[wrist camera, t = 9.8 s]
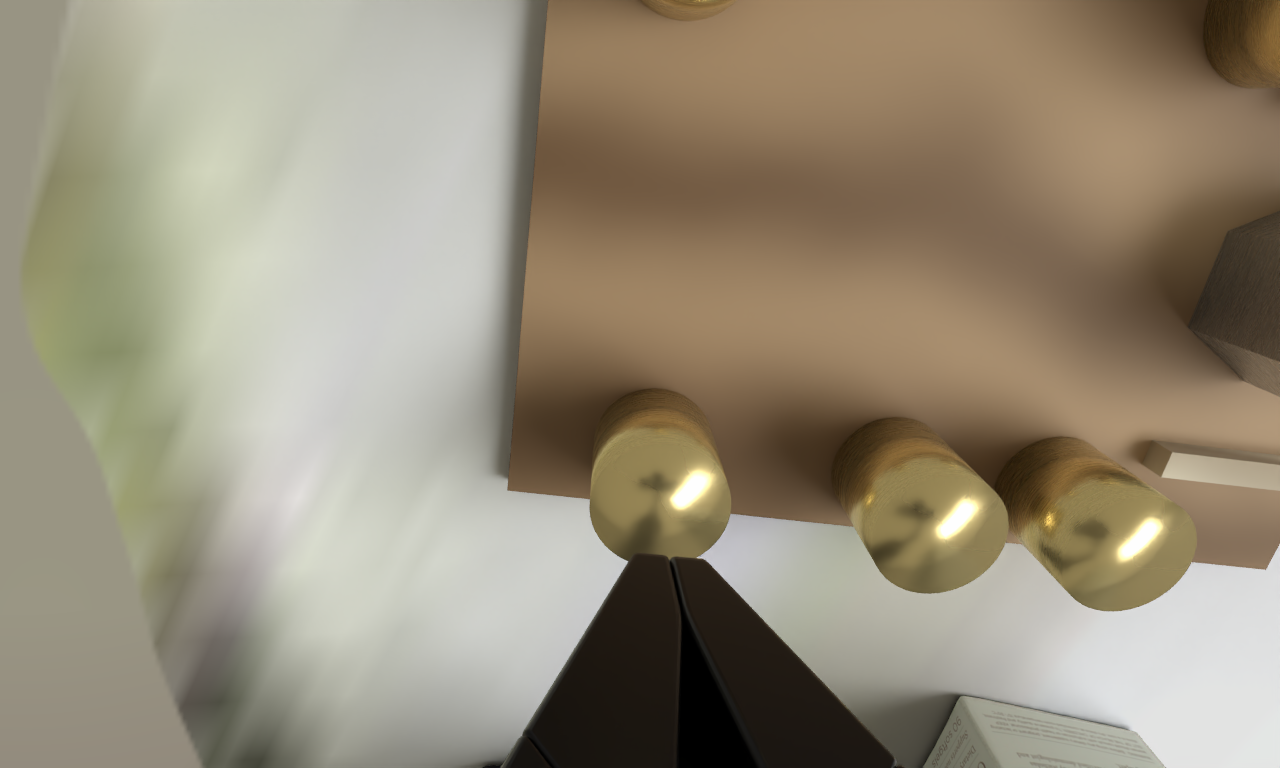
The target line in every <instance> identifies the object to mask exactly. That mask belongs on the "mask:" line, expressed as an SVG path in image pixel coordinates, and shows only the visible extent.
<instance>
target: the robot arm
mask: <svg viewBox="0 0 1280 768" xmlns="http://www.w3.org/2000/svg"><path fill="white" fill-rule="evenodd" d="M896 764H897V760H896V758H895V757H894V756H893V755H892V754H891V753H890V752H889V751H888V750H887V749H886V748H885V747H884V746H883V745H882V744H881V742H880V741H879V740H878V739H877V738H876V737H875V736H874V735H873V734H872V733H871V732H870V731H869V730H868V729H867V728H866V727H865V726H864V725H863V724H862V723H861V722H860V721H859V720H858V718H857V717H856V716H855V715H854V714H853V713H852V712H851V711H850V710H849V709H848V708H847V707H846V706H845V705H844V704H843V703H842V702H841V701H840V700H839V699H838V698H837V697H836V696H835V695H834V693H833V692H832V691H831V690H830V689H829V688H828V687H827V686H826V685H825V684H824V683H823V682H822V681H821V680H820V679H819V678H818V677H817V676H816V675H815V674H814V673H813V672H812V671H811V669H810V668H809V667H808V666H807V665H806V664H805V663H804V662H803V661H802V660H801V659H800V658H799V657H798V656H797V655H796V654H795V653H794V652H793V651H792V650H791V649H790V648H789V647H788V645H787V644H786V643H785V642H784V641H783V640H782V639H781V638H780V637H779V636H778V635H777V634H776V633H775V632H774V631H773V630H772V629H771V628H770V627H769V626H768V625H767V624H766V623H765V621H764V620H763V619H762V618H761V617H760V616H759V615H758V614H757V613H756V612H755V611H754V610H753V609H752V608H751V607H750V606H749V605H748V604H747V603H746V602H745V601H744V600H743V599H742V597H741V596H740V595H739V594H738V593H737V592H736V591H735V590H734V589H733V588H732V587H731V586H730V585H729V584H728V583H727V582H726V581H725V580H724V579H723V578H722V577H721V576H720V575H719V574H718V572H717V571H716V570H715V569H714V568H713V567H712V566H711V565H710V564H709V563H708V562H707V561H705V560H704V559H700V558H689V557H679V556H675V557H672V558H671V559H670V560H669V559H668V557H667V556H665V555H658V554H648V553H635V554H634V555H633V556H632V557H631V558H630V560H629V562H628V563H627V565H626V567H625V568H624V570H623V571H622V573H621V575H620V576H619V578H618V579H617V581H616V583H615V584H614V586H613V588H612V589H611V591H610V592H609V594H608V596H607V597H606V599H605V600H604V602H603V604H602V605H601V607H600V609H599V610H598V612H597V613H596V615H595V617H594V618H593V620H592V622H591V623H590V625H589V626H588V628H587V630H586V631H585V633H584V634H583V636H582V638H581V639H580V641H579V643H578V644H577V646H576V647H575V649H574V651H573V652H572V654H571V655H570V657H569V659H568V660H567V662H566V664H565V665H564V667H563V668H562V670H561V672H560V673H559V675H558V676H557V678H556V680H555V681H554V683H553V685H552V686H551V688H550V689H549V691H548V693H547V694H546V696H545V697H544V699H543V701H542V702H541V704H540V706H539V707H538V709H537V710H536V712H535V714H534V715H533V717H532V719H531V720H530V722H529V723H528V725H527V727H526V728H525V730H524V732H523V735H522V737H520V738H519V739H518V740H517V742H516V744H515V745H514V747H513V748H512V750H511V752H510V753H509V755H508V756H507V758H506V760H505V761H504V763H503V765H502V766H496V765H490V766H485V767H483V768H905V767H904V766H902V765H898V766H896Z"/></svg>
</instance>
